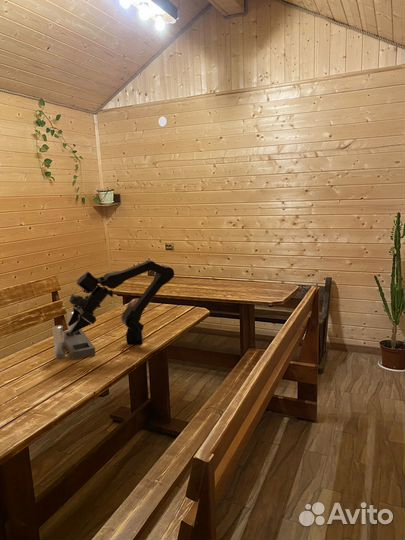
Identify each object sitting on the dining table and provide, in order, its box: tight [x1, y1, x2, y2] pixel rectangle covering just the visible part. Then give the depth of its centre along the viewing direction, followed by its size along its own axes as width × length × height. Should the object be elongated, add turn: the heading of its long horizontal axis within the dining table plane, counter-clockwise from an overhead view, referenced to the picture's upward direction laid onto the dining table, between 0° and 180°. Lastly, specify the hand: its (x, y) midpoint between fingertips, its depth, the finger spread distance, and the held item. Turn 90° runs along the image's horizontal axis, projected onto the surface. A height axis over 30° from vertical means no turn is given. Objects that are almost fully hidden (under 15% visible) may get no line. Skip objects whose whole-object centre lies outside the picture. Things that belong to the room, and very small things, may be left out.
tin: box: [126, 297, 140, 308], centre depth 215 cm, size 15×3×8 cm, turn 168°
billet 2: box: [66, 310, 78, 336], centre depth 178 cm, size 4×4×13 cm
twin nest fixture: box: [63, 328, 96, 360], centre depth 171 cm, size 9×28×3 cm, turn 28°
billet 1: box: [51, 324, 67, 360], centre depth 159 cm, size 4×4×13 cm
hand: (70, 328), depth 160 cm, fingers open, 9 cm apart
